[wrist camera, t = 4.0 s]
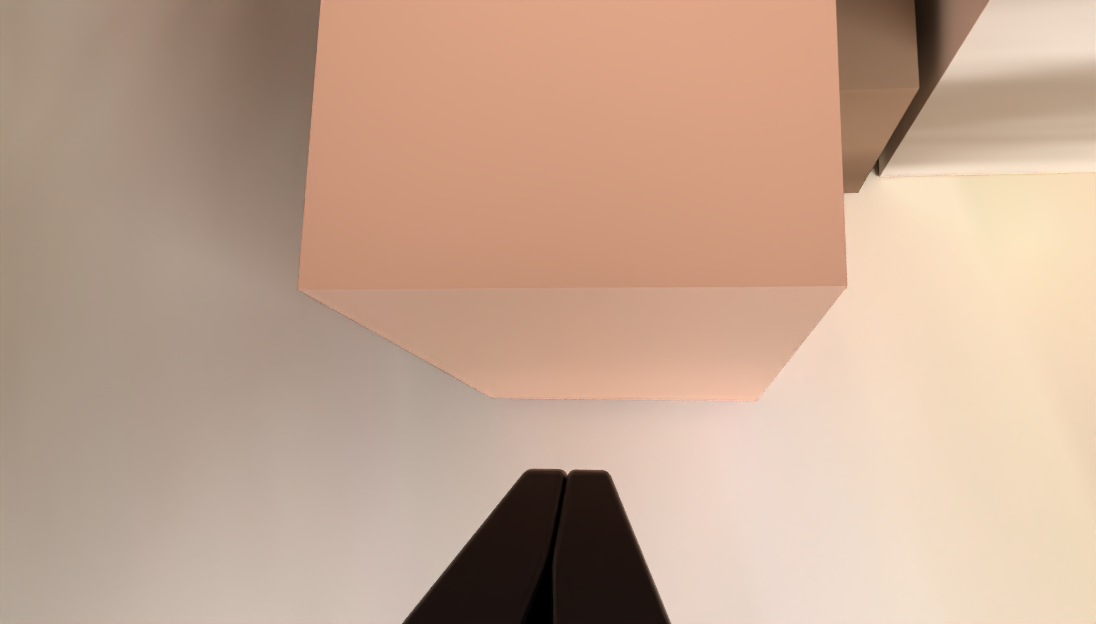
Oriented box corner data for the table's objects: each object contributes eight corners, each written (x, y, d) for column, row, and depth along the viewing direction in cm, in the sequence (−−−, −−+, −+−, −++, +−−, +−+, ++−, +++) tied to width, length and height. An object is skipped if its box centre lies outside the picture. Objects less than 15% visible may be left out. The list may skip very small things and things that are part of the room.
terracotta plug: (756, 400, 16) (847, 285, 8) (491, 397, 17) (297, 288, 8) (751, 135, 17) (827, -233, 9) (500, 143, 18) (336, -193, 9)
